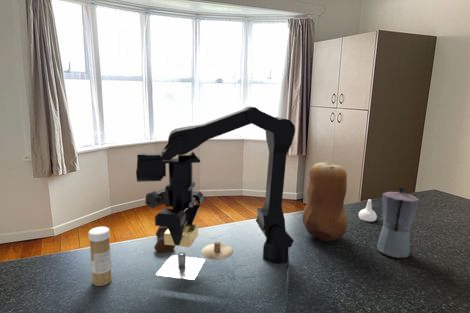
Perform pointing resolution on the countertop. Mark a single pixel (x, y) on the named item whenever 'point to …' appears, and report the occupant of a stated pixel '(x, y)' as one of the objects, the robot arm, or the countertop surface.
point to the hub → (181, 267)
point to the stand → (217, 251)
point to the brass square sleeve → (187, 237)
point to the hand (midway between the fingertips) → (182, 238)
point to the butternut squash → (326, 202)
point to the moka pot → (397, 223)
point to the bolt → (162, 241)
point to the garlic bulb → (368, 213)
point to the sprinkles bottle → (100, 255)
